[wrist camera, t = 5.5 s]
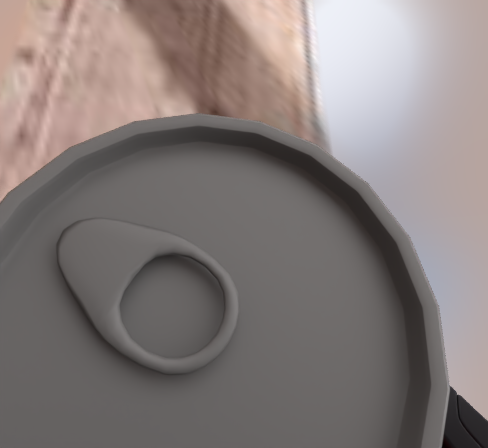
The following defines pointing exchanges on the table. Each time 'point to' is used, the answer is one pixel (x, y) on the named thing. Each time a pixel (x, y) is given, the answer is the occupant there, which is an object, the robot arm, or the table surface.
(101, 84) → the table surface
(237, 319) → the beer can
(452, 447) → the robot arm
